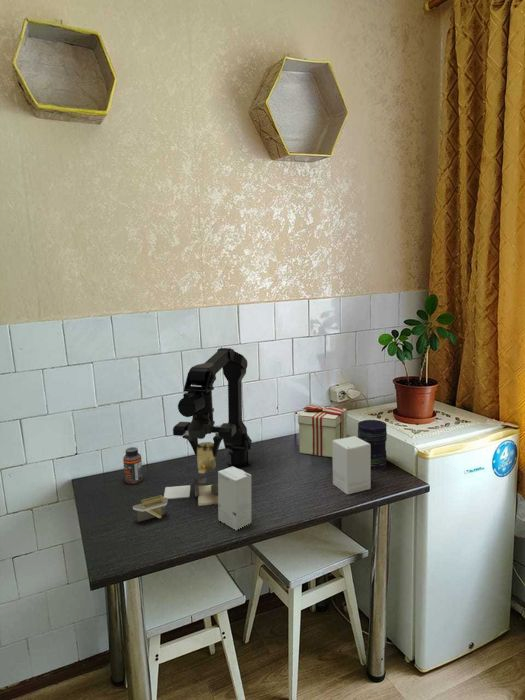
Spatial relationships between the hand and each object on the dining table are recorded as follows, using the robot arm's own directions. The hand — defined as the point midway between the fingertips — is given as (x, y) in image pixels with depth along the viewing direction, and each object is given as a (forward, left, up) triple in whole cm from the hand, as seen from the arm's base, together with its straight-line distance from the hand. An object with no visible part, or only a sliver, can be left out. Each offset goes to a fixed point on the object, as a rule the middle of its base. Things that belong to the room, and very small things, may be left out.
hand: (206, 455), depth 154 cm
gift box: (-53, -11, -13) cm, 56 cm away
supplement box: (-40, +21, -13) cm, 47 cm away
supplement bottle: (+17, -24, -13) cm, 32 cm away
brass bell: (0, 0, -4) cm, 4 cm away
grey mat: (+8, -7, -13) cm, 16 cm away
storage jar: (-57, +12, -13) cm, 60 cm away
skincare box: (+1, +20, -13) cm, 24 cm away
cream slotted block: (-2, +2, -13) cm, 13 cm away
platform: (+20, +5, -14) cm, 24 cm away
